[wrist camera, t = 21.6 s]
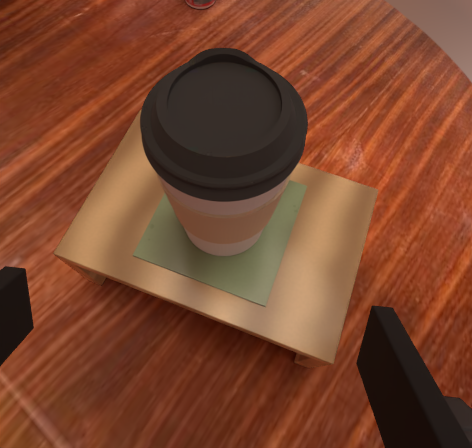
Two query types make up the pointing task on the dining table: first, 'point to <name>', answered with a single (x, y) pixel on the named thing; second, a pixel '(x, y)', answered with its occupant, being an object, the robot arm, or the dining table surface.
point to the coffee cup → (223, 145)
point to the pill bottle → (200, 3)
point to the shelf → (236, 266)
